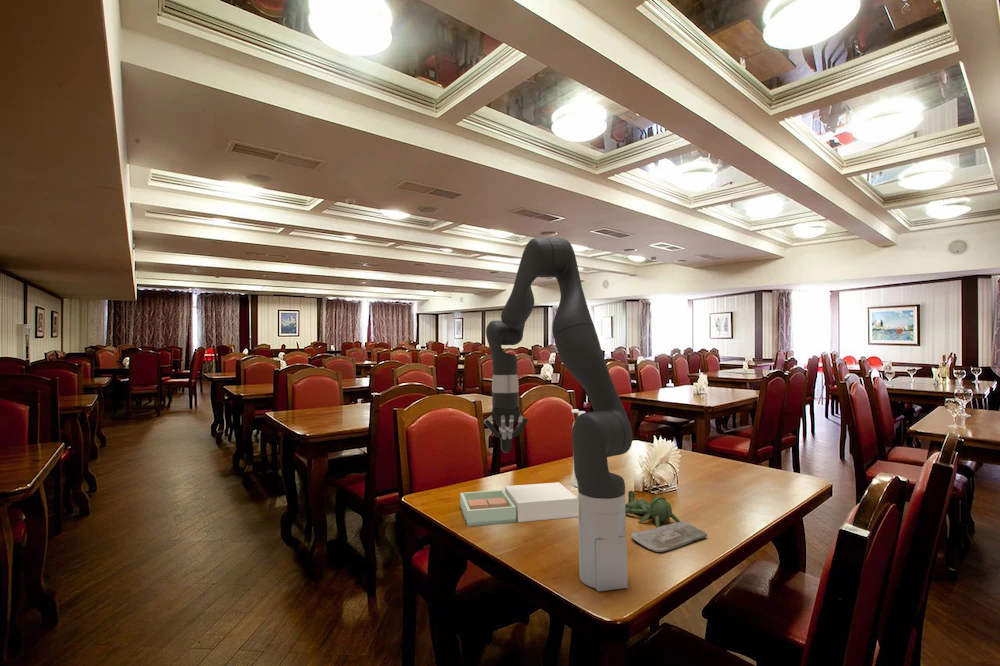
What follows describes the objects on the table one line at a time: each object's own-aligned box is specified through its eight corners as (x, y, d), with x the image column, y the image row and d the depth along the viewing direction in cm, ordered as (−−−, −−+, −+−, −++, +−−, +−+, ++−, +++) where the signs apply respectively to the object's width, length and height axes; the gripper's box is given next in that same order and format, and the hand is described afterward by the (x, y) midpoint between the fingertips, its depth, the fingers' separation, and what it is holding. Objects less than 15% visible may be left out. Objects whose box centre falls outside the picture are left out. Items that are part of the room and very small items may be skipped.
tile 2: (507, 512, 130) (507, 503, 130) (490, 513, 129) (489, 504, 129) (504, 506, 135) (503, 497, 135) (486, 507, 134) (486, 498, 134)
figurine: (638, 488, 139) (685, 495, 122) (642, 515, 138) (690, 527, 121) (607, 493, 135) (652, 501, 118) (610, 521, 133) (656, 534, 116)
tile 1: (469, 505, 128) (469, 515, 128) (487, 504, 129) (487, 513, 129) (467, 500, 133) (467, 509, 133) (484, 498, 134) (484, 507, 134)
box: (516, 522, 125) (516, 507, 125) (467, 526, 122) (467, 511, 122) (503, 503, 140) (503, 489, 140) (460, 506, 138) (460, 492, 138)
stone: (657, 551, 104) (625, 531, 113) (657, 564, 104) (625, 543, 113) (713, 530, 112) (680, 513, 121) (713, 542, 112) (680, 524, 121)
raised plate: (578, 516, 128) (577, 498, 128) (518, 522, 125) (517, 503, 125) (559, 498, 144) (558, 482, 144) (505, 503, 140) (504, 486, 141)
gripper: (484, 392, 128) (485, 456, 127) (531, 390, 131) (532, 453, 130) (480, 390, 135) (480, 450, 135) (524, 389, 138) (525, 448, 137)
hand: (506, 452), depth 132 cm, fingers closed
